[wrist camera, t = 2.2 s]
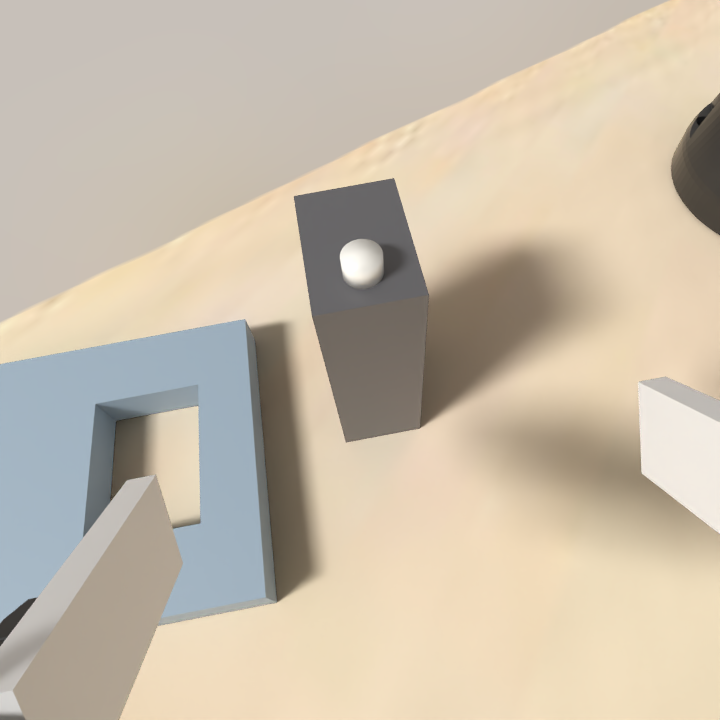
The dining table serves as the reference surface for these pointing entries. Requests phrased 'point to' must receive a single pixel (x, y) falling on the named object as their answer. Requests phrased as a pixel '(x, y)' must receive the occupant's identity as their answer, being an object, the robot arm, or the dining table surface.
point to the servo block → (366, 305)
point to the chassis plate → (96, 450)
